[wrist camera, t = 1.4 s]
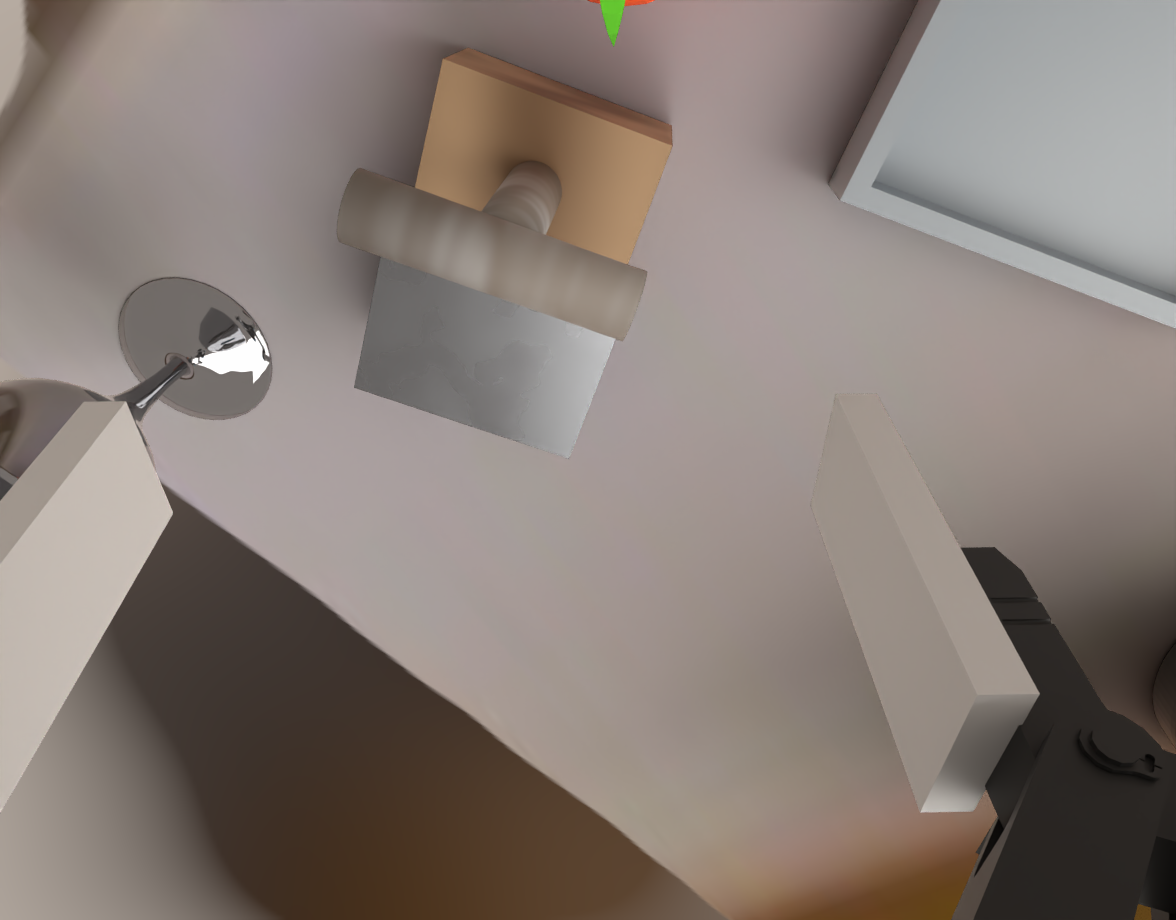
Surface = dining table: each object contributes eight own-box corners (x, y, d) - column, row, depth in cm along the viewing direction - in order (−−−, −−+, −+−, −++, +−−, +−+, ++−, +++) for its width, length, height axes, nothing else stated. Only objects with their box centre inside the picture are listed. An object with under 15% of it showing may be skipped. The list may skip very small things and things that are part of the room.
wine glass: (312, 349, 37) (126, 552, 24) (231, 455, 40) (31, 683, 28) (154, 231, 35) (-144, 387, 22) (83, 355, 38) (-210, 553, 25)
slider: (671, 125, 30) (675, 212, 20) (617, 270, 34) (595, 413, 23) (468, 47, 30) (358, 94, 19) (432, 204, 33) (320, 319, 22)
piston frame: (886, -402, 23) (949, -506, 18) (580, 402, 37) (566, 472, 32) (586, -543, 22) (563, -695, 17) (390, 337, 36) (345, 399, 31)
